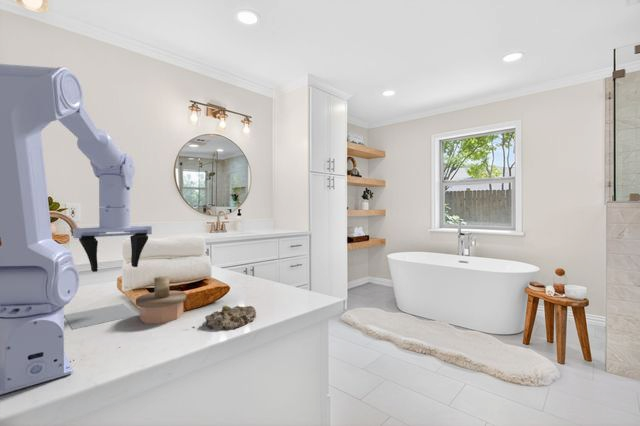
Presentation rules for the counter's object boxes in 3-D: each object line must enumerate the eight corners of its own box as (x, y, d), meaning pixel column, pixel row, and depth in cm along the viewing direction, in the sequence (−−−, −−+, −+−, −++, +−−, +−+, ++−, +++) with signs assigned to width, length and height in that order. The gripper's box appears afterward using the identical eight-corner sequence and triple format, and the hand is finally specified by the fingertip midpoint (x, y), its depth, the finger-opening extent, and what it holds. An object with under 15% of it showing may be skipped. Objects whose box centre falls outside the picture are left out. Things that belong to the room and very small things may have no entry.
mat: (137, 317, 68) (137, 315, 68) (72, 331, 60) (72, 329, 60) (122, 306, 75) (122, 303, 75) (63, 317, 68) (63, 315, 68)
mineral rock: (215, 324, 59) (201, 302, 65) (212, 344, 60) (199, 321, 66) (266, 313, 66) (249, 295, 72) (263, 332, 67) (246, 312, 73)
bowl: (187, 319, 67) (187, 300, 67) (149, 329, 62) (148, 308, 62) (173, 310, 73) (173, 293, 72) (136, 319, 67) (136, 300, 67)
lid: (194, 300, 67) (194, 277, 67) (145, 311, 60) (145, 286, 60) (175, 291, 74) (175, 271, 74) (129, 300, 67) (128, 278, 67)
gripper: (144, 207, 78) (144, 262, 78) (70, 207, 68) (71, 270, 68) (154, 207, 73) (155, 266, 73) (76, 207, 63) (77, 275, 63)
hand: (115, 268), depth 70 cm, fingers open, 7 cm apart
